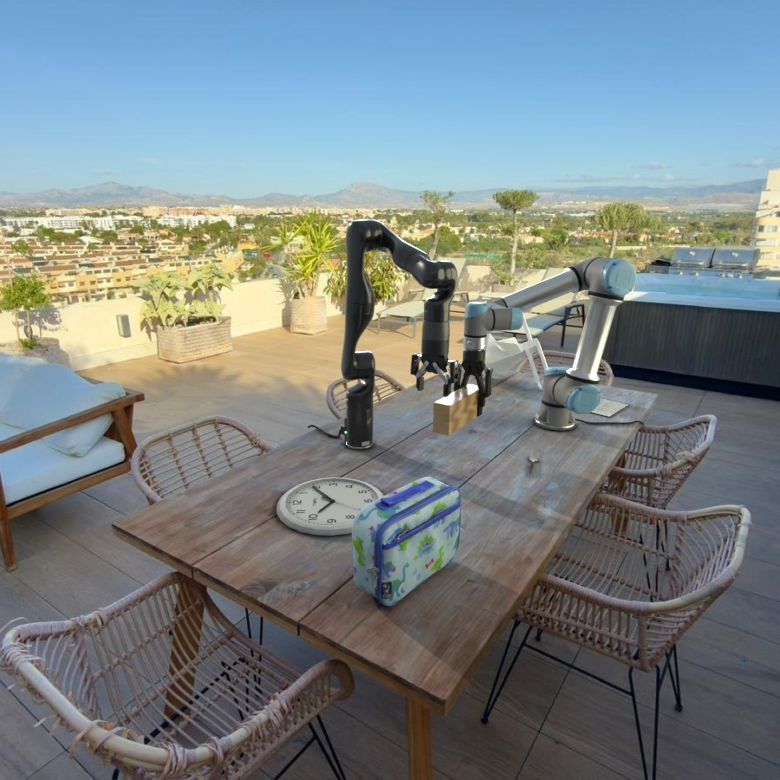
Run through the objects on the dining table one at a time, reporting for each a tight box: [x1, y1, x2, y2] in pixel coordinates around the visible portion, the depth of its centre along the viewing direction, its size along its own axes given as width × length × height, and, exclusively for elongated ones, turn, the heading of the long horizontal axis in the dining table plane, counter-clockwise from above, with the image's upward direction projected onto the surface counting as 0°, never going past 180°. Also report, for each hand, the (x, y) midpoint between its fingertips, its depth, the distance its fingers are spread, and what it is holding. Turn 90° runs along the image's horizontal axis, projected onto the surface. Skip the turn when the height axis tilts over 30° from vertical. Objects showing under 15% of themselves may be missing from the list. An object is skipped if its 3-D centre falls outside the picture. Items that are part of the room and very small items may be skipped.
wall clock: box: [276, 476, 385, 537], centre depth 142 cm, size 30×2×30 cm
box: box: [432, 383, 484, 437], centre depth 174 cm, size 25×6×10 cm, turn 145°
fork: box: [529, 450, 539, 475], centre depth 168 cm, size 3×16×2 cm, turn 160°
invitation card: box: [590, 398, 629, 418], centre depth 226 cm, size 21×1×15 cm
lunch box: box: [351, 476, 462, 607], centre depth 111 cm, size 26×11×21 cm, turn 135°
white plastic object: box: [472, 312, 549, 390], centre depth 259 cm, size 37×45×31 cm
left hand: (433, 393), depth 147 cm, fingers open, 8 cm apart
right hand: (470, 413), depth 183 cm, fingers closed on box, 6 cm apart
